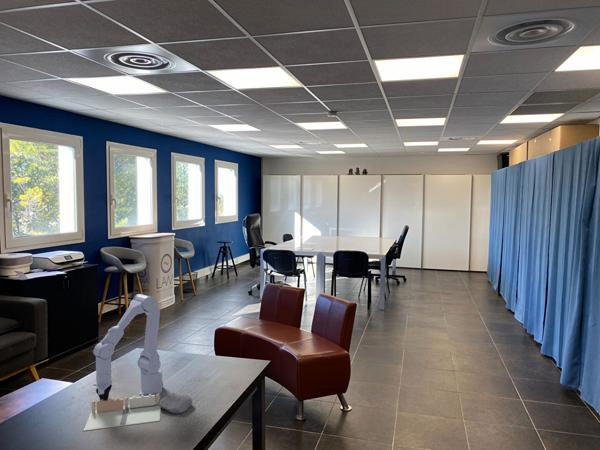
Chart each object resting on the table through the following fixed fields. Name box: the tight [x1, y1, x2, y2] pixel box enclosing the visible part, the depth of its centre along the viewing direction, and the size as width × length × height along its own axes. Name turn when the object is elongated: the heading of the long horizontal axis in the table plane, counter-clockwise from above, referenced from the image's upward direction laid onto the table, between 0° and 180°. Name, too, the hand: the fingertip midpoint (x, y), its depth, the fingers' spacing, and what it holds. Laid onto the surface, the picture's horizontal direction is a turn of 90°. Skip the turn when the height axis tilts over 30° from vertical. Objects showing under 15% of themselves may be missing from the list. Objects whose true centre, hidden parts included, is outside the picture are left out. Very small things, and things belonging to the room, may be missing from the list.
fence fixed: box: [124, 393, 161, 409], centre depth 176 cm, size 14×1×5 cm, turn 106°
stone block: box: [159, 392, 193, 414], centre depth 176 cm, size 12×5×10 cm
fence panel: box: [90, 397, 125, 413], centre depth 173 cm, size 12×1×5 cm, turn 106°
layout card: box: [83, 401, 162, 432], centre depth 170 cm, size 27×17×1 cm, turn 106°
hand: (104, 404), depth 176 cm, fingers closed
